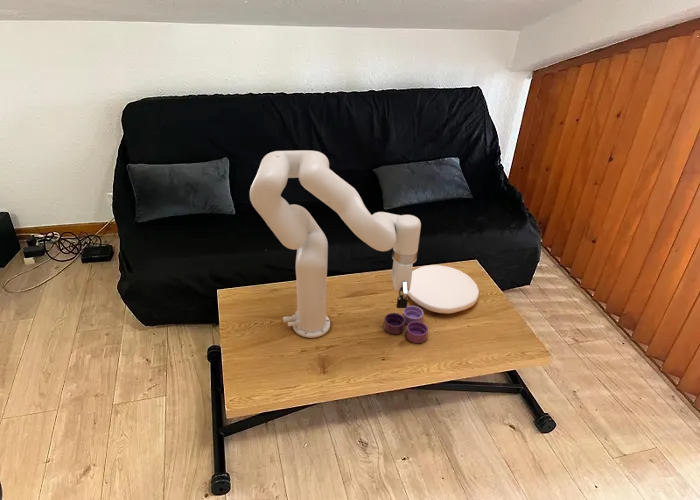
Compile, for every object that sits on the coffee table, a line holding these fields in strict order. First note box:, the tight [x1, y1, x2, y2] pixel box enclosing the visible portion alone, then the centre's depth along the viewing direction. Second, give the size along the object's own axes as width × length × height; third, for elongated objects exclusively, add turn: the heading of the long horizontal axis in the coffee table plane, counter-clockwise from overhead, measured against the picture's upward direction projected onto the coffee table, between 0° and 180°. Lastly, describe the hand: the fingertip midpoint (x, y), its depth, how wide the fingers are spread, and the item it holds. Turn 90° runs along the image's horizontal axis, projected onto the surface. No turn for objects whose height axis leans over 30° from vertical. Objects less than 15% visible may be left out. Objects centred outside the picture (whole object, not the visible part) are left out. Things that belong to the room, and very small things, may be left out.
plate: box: [408, 264, 480, 315], centre depth 182 cm, size 28×6×27 cm
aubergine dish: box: [383, 312, 406, 335], centre depth 165 cm, size 7×7×4 cm
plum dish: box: [405, 321, 429, 344], centre depth 162 cm, size 7×7×4 cm
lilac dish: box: [402, 305, 425, 326], centre depth 169 cm, size 7×7×4 cm
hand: (399, 298), depth 160 cm, fingers open, 9 cm apart
